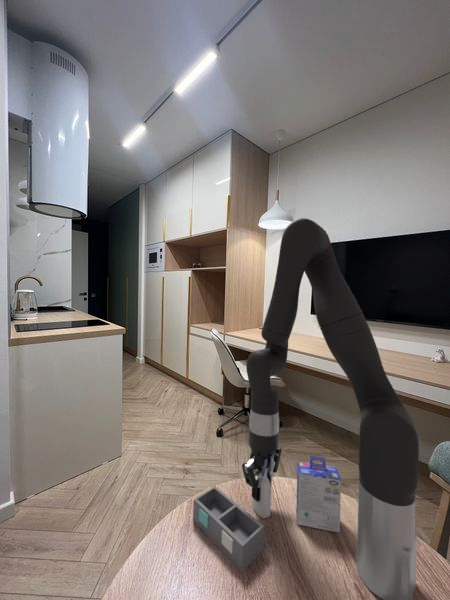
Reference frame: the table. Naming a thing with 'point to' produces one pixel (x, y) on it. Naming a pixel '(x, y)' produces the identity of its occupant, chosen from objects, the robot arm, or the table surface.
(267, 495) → the eye dropper bottle
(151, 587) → the table surface
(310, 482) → the ink cartridge box
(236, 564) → the block
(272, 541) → the table surface
